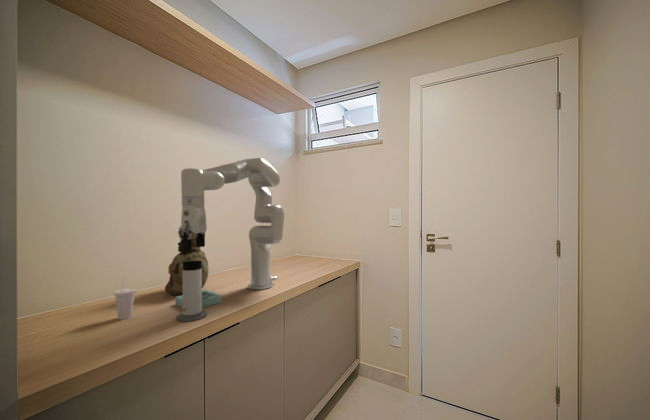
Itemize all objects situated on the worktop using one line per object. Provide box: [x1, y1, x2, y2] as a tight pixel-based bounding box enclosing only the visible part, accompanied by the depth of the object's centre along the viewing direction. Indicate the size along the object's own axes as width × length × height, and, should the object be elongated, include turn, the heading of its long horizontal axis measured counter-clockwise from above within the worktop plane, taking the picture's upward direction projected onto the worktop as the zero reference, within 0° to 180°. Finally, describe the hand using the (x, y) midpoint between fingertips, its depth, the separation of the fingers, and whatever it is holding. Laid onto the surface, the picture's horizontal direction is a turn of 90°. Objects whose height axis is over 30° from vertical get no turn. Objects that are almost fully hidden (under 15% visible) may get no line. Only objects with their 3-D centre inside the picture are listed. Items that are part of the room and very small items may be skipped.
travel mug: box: [181, 261, 203, 318], centre depth 94 cm, size 6×7×20 cm
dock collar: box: [175, 289, 222, 309], centre depth 109 cm, size 13×13×4 cm
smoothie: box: [113, 278, 137, 321], centre depth 94 cm, size 6×6×14 cm
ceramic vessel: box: [164, 230, 210, 297], centre depth 127 cm, size 19×21×30 cm
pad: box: [176, 309, 208, 323], centre depth 94 cm, size 10×10×1 cm
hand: (194, 248), depth 95 cm, fingers open, 9 cm apart
